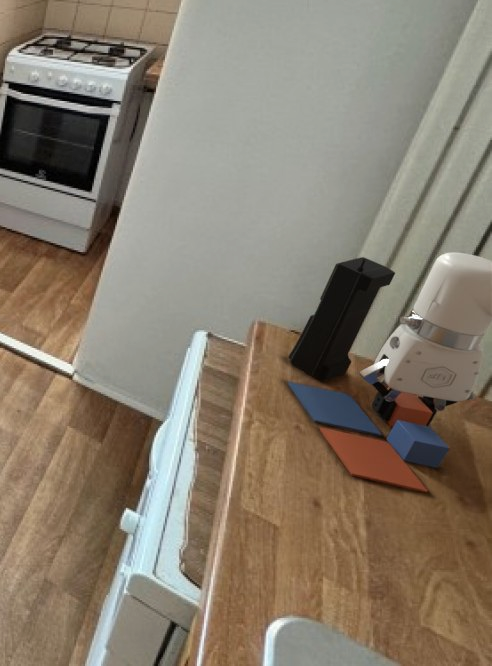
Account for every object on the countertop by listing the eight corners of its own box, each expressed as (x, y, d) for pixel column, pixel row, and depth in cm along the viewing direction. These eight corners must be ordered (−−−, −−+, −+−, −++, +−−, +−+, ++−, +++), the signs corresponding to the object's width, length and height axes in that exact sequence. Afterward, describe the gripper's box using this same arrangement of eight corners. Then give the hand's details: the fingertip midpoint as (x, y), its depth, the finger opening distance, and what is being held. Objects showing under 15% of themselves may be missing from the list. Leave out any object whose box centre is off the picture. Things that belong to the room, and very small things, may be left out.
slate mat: (348, 396, 105) (349, 394, 105) (381, 436, 97) (382, 434, 97) (287, 383, 108) (288, 381, 108) (314, 421, 100) (315, 420, 100)
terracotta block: (405, 413, 101) (415, 393, 99) (422, 432, 97) (433, 412, 96) (374, 407, 102) (383, 388, 101) (390, 426, 98) (400, 406, 97)
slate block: (419, 446, 96) (430, 426, 94) (437, 468, 92) (450, 448, 90) (386, 439, 97) (396, 419, 95) (403, 460, 93) (415, 440, 92)
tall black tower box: (312, 351, 116) (362, 240, 107) (349, 373, 110) (406, 258, 101) (284, 360, 113) (334, 247, 104) (321, 382, 108) (377, 266, 99)
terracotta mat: (387, 443, 96) (388, 442, 96) (427, 493, 88) (428, 491, 88) (319, 429, 99) (320, 427, 98) (351, 475, 91) (352, 473, 90)
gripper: (391, 333, 92) (348, 423, 99) (536, 356, 87) (481, 449, 94) (361, 304, 99) (323, 390, 105) (494, 324, 94) (446, 413, 101)
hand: (398, 417), depth 100 cm, fingers closed on terracotta block, 4 cm apart
